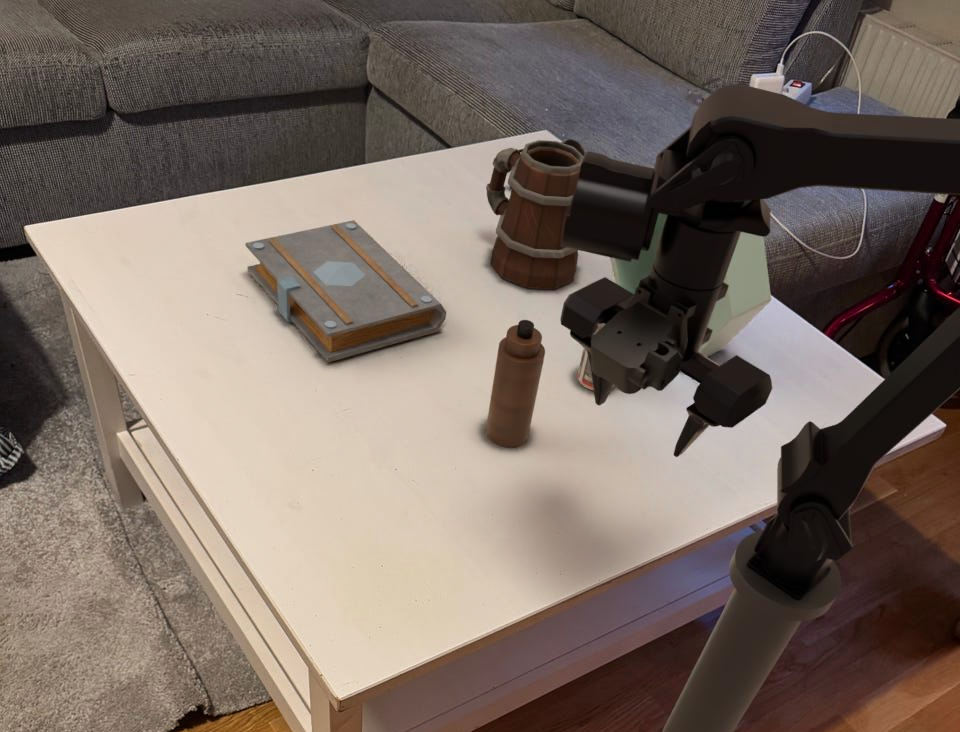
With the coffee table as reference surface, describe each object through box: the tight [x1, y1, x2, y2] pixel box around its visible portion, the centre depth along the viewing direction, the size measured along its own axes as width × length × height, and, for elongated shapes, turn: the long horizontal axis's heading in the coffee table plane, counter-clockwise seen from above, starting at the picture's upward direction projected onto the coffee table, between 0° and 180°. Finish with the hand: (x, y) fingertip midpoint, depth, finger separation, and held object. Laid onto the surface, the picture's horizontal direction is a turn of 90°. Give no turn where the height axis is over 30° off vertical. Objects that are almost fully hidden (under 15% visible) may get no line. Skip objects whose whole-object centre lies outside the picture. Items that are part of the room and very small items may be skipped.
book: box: [244, 219, 447, 363], centre depth 112 cm, size 21×16×5 cm
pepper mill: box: [485, 319, 546, 448], centre depth 97 cm, size 5×5×14 cm
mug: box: [485, 139, 584, 290], centre depth 120 cm, size 16×12×15 cm
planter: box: [609, 213, 772, 358], centre depth 111 cm, size 17×8×21 cm
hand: (638, 428), depth 84 cm, fingers open, 9 cm apart
